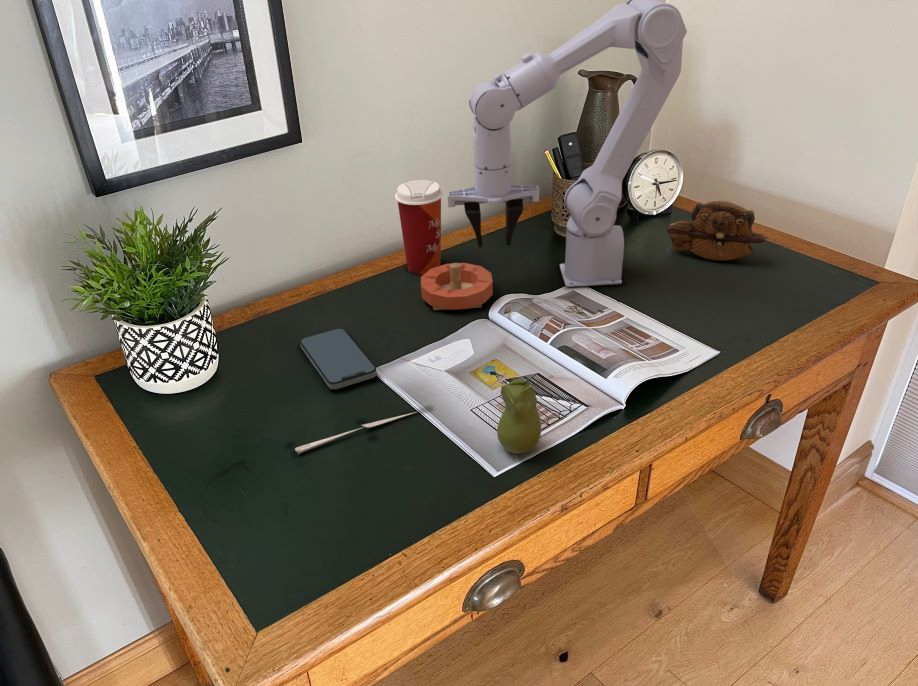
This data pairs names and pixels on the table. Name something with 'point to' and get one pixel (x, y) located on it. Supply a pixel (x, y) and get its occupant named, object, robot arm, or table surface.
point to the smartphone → (338, 358)
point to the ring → (459, 297)
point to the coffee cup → (420, 224)
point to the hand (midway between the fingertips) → (493, 243)
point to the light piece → (317, 443)
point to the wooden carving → (716, 231)
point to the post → (456, 282)
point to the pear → (519, 418)
